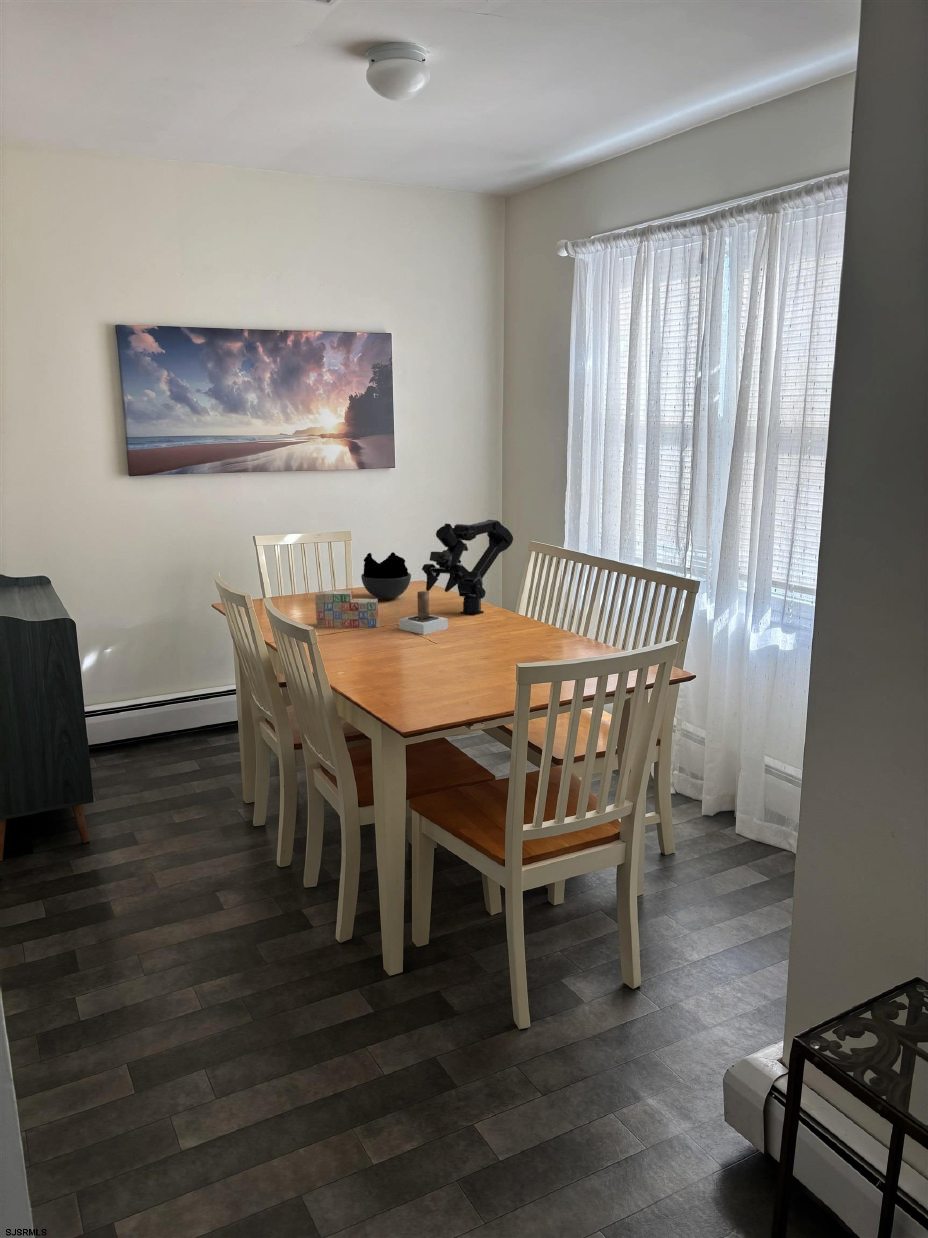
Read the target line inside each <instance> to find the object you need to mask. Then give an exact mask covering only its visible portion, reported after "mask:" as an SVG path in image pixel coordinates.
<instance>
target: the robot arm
mask: <svg viewBox="0 0 928 1238" xmlns="http://www.w3.org/2000/svg"><path fill="white" fill-rule="evenodd" d="M483 534H486V535H487V537H488V546H487V548H486V550H485V551H484V552H483V553H482V555H481V557H480V558H479V559H478V561H477V562H476V564H475V565H474V567H473V569H472V570H471V571H469V569H467V568H466V567H465V566H464V565H463V564H462V561H461V558H462V555H463V552H468V551H469V548H468V546H467V543H465V542H464V541H468V542H470V541H473V540H475V539H476V538H477V536H479V535H483ZM435 537H436V538H437V540H439V542H440V543H441V544H442V545H443V546H444V547H445V548H446V549H444V550H442V551H430V553H429V554H430V556H429V561H430V562H435V564H434V563H424V564H423V566H422V568H421V571H423V573H424V574H425V575H426V584H425V585H426V586H425V587H426V588H425V591H427V592H430V591H431V590H432V588H433V587H434V585H435V584H436V582H437V581H438V580H439V577H440V576H441V574H447V575H449V577H448V580H447V582H446V585H445V588H444V592H445V593H448V592H449V591H450V590H452V589H454V588H455V586H457V591H458V594H459V597H463V603H462V609H463V610H462V611H460V614H465V615H470V616H476V615H478V614H482V613H484V612H485V611H484V610H482V608H481V607H482V599H484V598H485V597H486V594H487V593H486V590H485V589H484V587H483V585H484V584H483V578H484V577H485V576H486V574H487V572H488V570H490V568H491V566H492V565H493V564H494V562H495V560H496V559H497V557H498V556H499V554H500V553H502V552H504V551H507V550H508V549H509V547H510V546H511V545H512V544H513V541H514V536H513V535H512V532H511V531H510V530H509V529H508V528H507V527H505V526H504V525H502V523H501V522H500V520H499V521H498V520H495V519H486V520H485V521H481V522H476V523H472V524H463V523H462V524H460V523H459V524H458V523H457V524H455V525H454V527H453V526H452V524H451V523H444V525H442V526H441V527H439V528H438V529H437V530H436V531H435ZM437 566H438V567H437Z"/></svg>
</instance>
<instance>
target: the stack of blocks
mask: <svg viewBox="0 0 928 1238" xmlns="http://www.w3.org/2000/svg"><path fill="white" fill-rule="evenodd" d="M314 599H315V616H316V617H315V618H316V628H339V629H340V628H377V627H378V625H379V608H378V607H379V603H378V601H379V600H378V599H379V598H353V590H318V591H317V592H315V595H314Z"/></svg>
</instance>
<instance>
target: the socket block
mask: <svg viewBox="0 0 928 1238" xmlns="http://www.w3.org/2000/svg"><path fill="white" fill-rule="evenodd" d="M448 619H449V618H447V617H442V616H437V615H432V614H429V619H426V620H420V619H418V614H417V615H411V616H407V617H404V618H399V619H398V620H399V621H398V623H399V624H398V625H399V626H398V628H399V630H401V631H402V630H403V631H406V632H411V633H415V634H420V635H427V634H431V633H434V632H435V633H436V632H439V631H443V630H446V629H448V628H449V625H448V624H449V620H448Z"/></svg>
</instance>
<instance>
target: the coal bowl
mask: <svg viewBox="0 0 928 1238" xmlns="http://www.w3.org/2000/svg"><path fill="white" fill-rule="evenodd" d="M363 562H364V563H363V573H361V575H360V578H361V581H362V584H363V587H364V588H365V590H366V591H367V592H368V593H369V594H370V595H371V596H373V597H375V599H379V600H392V599H395V598H398V597H399V596H402V595H403V594H404V592H405V591H406V590H407V589H408V587H409V585H410V582H411V579H412V574H411V573H410V572H409V569H408V567H407V566H406V560H405V558H404V557H400V556H399V555H397V554H396V553H395V552H390V554H389V555H388V556H387V557H385V559H383V560H382V561H381V562H378V561H376V560H375V559H374V558H373V554H372V553H371V552H369V553H367V554H366V556H365V557H364V559H363Z"/></svg>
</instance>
